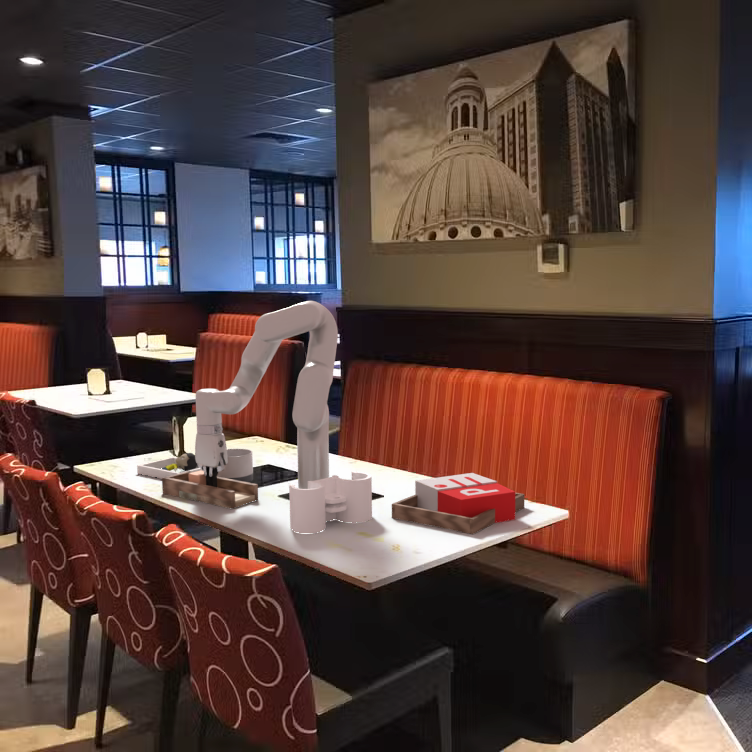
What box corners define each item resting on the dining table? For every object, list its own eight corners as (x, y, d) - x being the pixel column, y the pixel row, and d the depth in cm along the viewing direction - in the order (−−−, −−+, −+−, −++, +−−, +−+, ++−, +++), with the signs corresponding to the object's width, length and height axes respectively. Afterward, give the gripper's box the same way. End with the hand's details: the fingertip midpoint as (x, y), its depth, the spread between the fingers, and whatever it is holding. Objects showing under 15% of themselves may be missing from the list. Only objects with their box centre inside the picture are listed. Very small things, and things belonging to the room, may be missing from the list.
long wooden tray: (258, 500, 250) (257, 484, 249) (231, 508, 241) (231, 492, 240) (189, 485, 268) (188, 470, 267) (162, 493, 259) (161, 477, 259)
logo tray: (524, 507, 239) (524, 494, 239) (473, 534, 215) (473, 519, 215) (447, 494, 254) (447, 481, 254) (391, 517, 230) (391, 503, 230)
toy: (149, 466, 284) (188, 447, 292) (155, 482, 286) (194, 464, 294) (158, 471, 277) (198, 452, 284) (165, 488, 279) (204, 468, 286)
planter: (258, 485, 268) (257, 454, 266) (220, 490, 262) (219, 458, 260) (245, 477, 279) (244, 447, 278) (208, 482, 273) (207, 451, 272)
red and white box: (520, 489, 227) (459, 498, 218) (520, 519, 228) (459, 529, 219) (472, 472, 248) (414, 480, 239) (472, 500, 249) (415, 508, 240)
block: (212, 488, 257) (211, 472, 256) (200, 491, 253) (199, 475, 252) (201, 485, 260) (200, 470, 259) (189, 489, 256) (188, 473, 255)
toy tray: (215, 473, 285) (215, 464, 285) (179, 482, 272) (179, 473, 272) (173, 464, 298) (173, 456, 298) (137, 473, 285) (137, 465, 285)
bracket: (306, 537, 214) (305, 492, 213) (285, 529, 222) (284, 485, 220) (379, 518, 230) (379, 476, 229) (357, 511, 238) (357, 470, 236)
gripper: (235, 429, 250) (237, 488, 252) (202, 425, 259) (204, 482, 261) (217, 433, 244) (219, 494, 246) (183, 428, 253) (186, 487, 255)
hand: (211, 487), depth 253 cm, fingers closed
